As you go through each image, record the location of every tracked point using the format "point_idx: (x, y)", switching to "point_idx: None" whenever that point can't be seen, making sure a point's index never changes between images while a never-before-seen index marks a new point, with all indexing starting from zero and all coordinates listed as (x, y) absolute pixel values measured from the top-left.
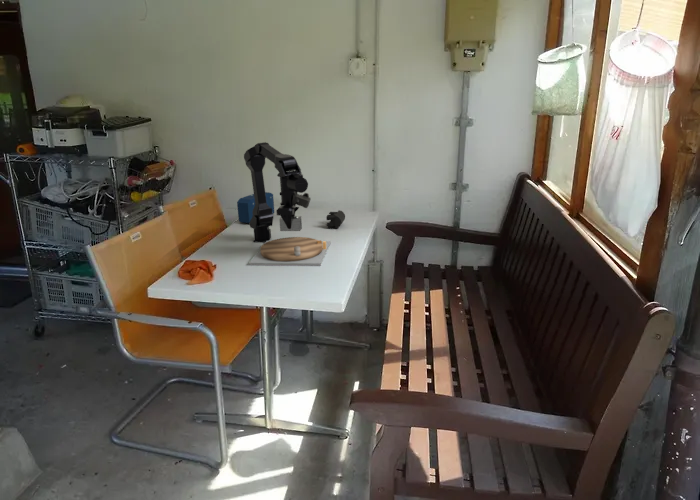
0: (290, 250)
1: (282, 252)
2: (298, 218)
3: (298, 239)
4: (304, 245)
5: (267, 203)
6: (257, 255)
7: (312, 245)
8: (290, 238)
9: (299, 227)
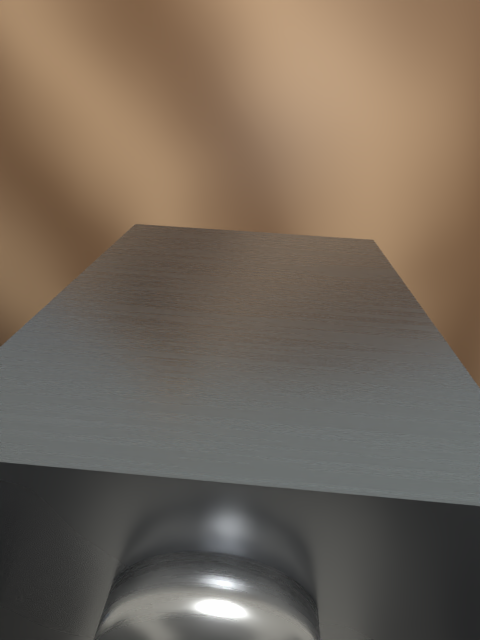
0: (414, 284)
1: (462, 352)
2: (421, 549)
3: (15, 244)
4: (241, 137)
5: None
6: None
7: (245, 3)
8: (3, 329)
9: (396, 284)
